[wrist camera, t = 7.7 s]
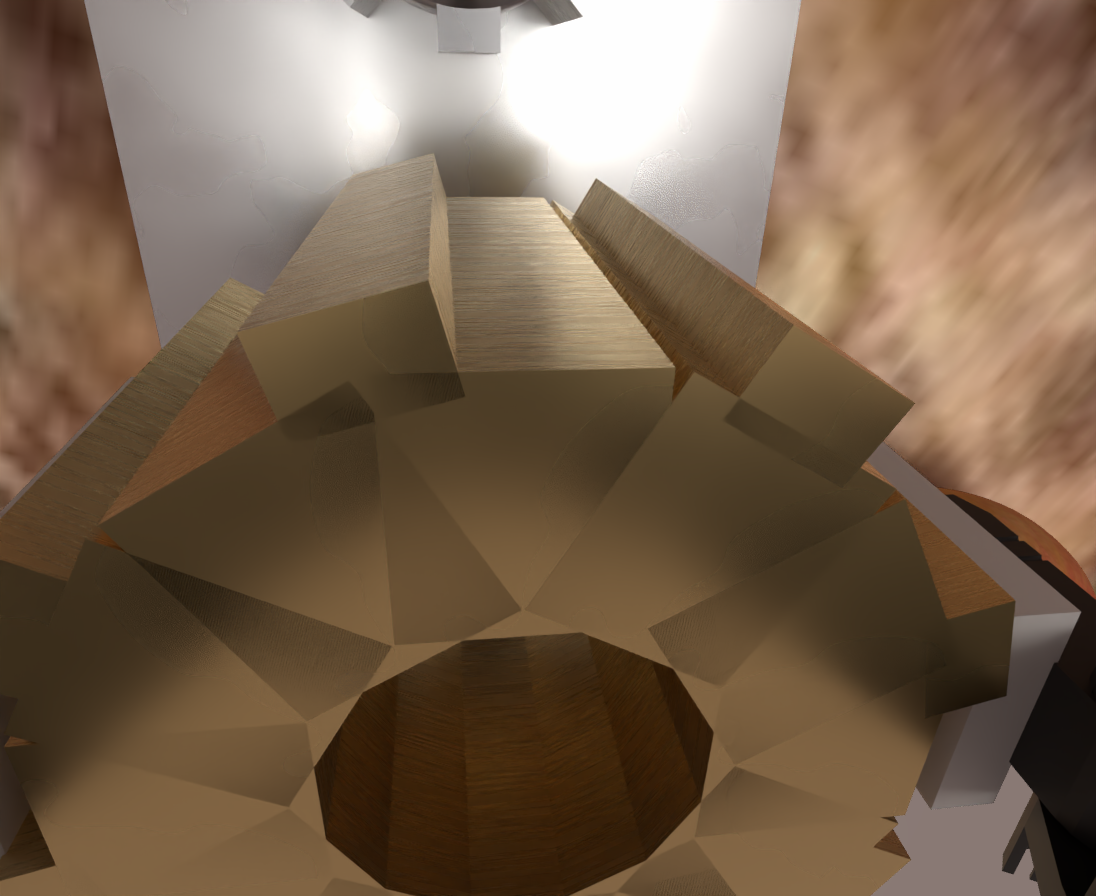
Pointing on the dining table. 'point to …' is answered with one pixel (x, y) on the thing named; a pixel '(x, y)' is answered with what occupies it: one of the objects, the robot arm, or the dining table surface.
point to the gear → (482, 582)
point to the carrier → (432, 117)
